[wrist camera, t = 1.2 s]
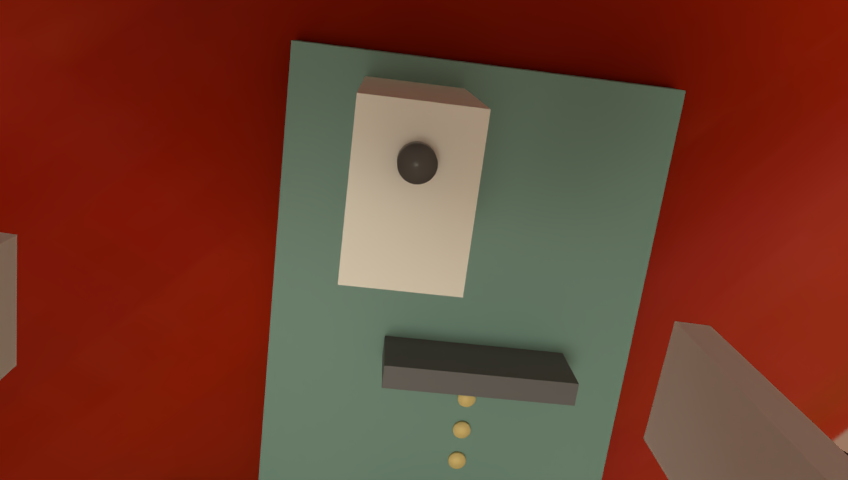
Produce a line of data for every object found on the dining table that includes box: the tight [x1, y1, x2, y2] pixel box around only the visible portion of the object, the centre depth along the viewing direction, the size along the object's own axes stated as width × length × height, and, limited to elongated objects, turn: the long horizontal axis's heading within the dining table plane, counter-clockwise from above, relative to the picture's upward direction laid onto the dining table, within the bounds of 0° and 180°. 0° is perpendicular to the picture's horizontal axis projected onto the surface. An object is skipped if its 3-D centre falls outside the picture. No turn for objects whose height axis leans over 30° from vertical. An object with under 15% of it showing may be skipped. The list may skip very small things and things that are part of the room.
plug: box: [338, 76, 491, 298], centre depth 26 cm, size 7×4×9 cm, turn 173°
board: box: [259, 40, 686, 480], centre depth 32 cm, size 23×16×4 cm
